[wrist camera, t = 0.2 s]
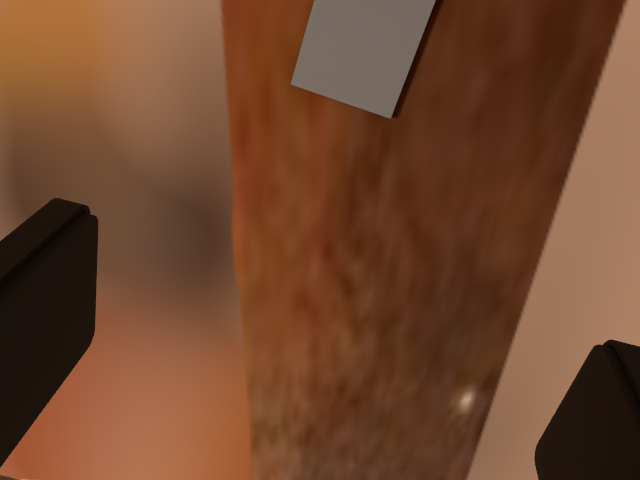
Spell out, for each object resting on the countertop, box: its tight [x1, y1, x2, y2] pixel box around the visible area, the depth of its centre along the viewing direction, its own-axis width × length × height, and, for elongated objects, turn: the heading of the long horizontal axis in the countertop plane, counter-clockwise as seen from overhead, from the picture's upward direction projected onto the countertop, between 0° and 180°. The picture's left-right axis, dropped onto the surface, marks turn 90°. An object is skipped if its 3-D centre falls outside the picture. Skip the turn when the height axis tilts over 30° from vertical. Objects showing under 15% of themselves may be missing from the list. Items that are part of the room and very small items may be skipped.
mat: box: [291, 0, 436, 119], centre depth 37 cm, size 10×7×1 cm
